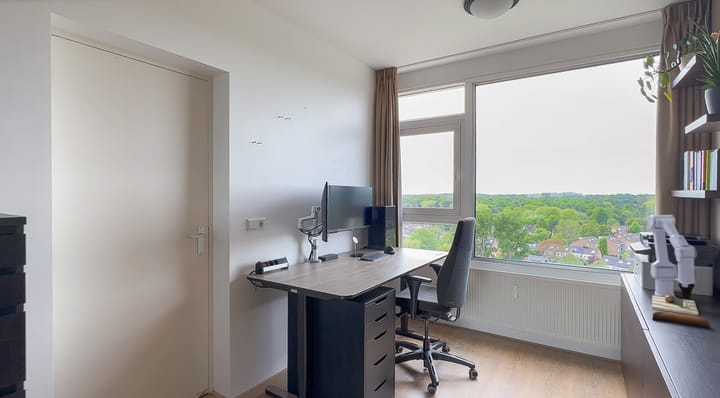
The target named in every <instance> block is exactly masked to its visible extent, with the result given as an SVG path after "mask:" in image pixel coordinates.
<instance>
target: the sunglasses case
mask: <svg viewBox="0 0 720 398" xmlns="http://www.w3.org/2000/svg"><path fill="white" fill-rule="evenodd" d="M652 321H661V322H671V323H672V322H674V323H678V324H684V325H685V324H686V325H692V326H697V327H702V328H708V329H709V330H710V329H711V325H710V321H708V319H706V318H703V317H701V316H698V315H691V314H681V313H674V312H670V311H655V312H654V313H653V314H652Z"/></svg>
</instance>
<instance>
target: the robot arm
mask: <svg viewBox="0 0 720 398" xmlns="http://www.w3.org/2000/svg"><path fill="white" fill-rule="evenodd" d="M647 223H648V229H649V230H650V231H652V234H653V235H652V236H653V242H654V249H655V250H654V251H655V258H656V260H655V261H654V262H652V263H651V265H650V276H651V277H652V278H653V279H655V280H654V281H655V282H654V284H655V285H654V286H655V291H654V296H658V297H665V295H673V296H675V293H674V281H676V282H679V283H678V285H677V286H678V287H679V289H680V290H681V294H682V297H683V298H682V299H683V300H691V296H692V292H693V289H694V288H695V283H696V280H695V259H696V258H697V256H698V255H697V254H698V252H697V250H696V247H695V246H693V245H691V244H689V243H688V242H687V240H686V238H685V236H683V235H682V234H679V232H678V230H677V228H676V226H675V225H676V218H675V216H674V215H673V214H657V215H656V214H651V215H649V217H648V220H647ZM666 233H667V235H668V236H669V242H670V244H671V245H672V247H673V249H674V255H675V259H676V262H677V269H676V265H675V264H674V263H672V262H671V261H670V260H669V255H668V247H667V246H668V245H667V240H666V238H667V237H666Z"/></svg>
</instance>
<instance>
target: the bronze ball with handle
mask: <svg viewBox="0 0 720 398" xmlns="http://www.w3.org/2000/svg"><path fill="white" fill-rule="evenodd" d="M682 299H683V298H682ZM682 299H681V298H678V297H677V296H676V295H674V296H673V295H665V301H666V302H671V303H675V304H678V305H681V306H683V307H688V301H685V300H686V299H683V300H682Z"/></svg>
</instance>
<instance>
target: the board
mask: <svg viewBox="0 0 720 398" xmlns="http://www.w3.org/2000/svg"><path fill="white" fill-rule="evenodd" d="M651 297H652V299H651V309H652V310H657V311H662V312H669V313H676V314H683V315H691V316H699V311H698V309H697V305H696V303H695V302H696V301H695V300H691V299H684V298H682V300H685V301H688V307H683V306H681V305H678V304H675V303H671V302H666V301H665V297H662V296H655V295H651Z"/></svg>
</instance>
